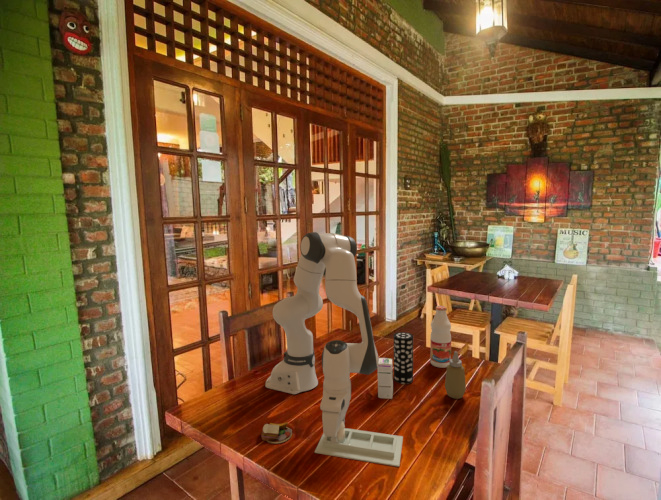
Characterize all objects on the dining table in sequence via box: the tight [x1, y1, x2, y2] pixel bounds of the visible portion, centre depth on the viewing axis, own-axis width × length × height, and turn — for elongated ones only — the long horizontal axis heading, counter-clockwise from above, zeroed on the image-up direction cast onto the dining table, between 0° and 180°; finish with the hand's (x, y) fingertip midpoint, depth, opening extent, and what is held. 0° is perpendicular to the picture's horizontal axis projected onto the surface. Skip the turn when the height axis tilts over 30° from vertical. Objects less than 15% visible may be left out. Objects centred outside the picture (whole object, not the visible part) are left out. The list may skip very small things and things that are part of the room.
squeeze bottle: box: [444, 351, 467, 400], centre depth 144 cm, size 8×8×18 cm
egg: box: [337, 421, 346, 443], centre depth 118 cm, size 4×4×7 cm
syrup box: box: [376, 357, 394, 400], centre depth 146 cm, size 6×6×14 cm
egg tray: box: [314, 427, 404, 468], centre depth 116 cm, size 26×14×2 cm, turn 74°
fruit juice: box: [429, 305, 452, 369], centre depth 173 cm, size 9×9×28 cm
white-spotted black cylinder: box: [393, 331, 414, 385], centre depth 158 cm, size 8×8×20 cm
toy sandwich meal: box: [260, 421, 293, 445], centre depth 122 cm, size 9×10×4 cm
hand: (338, 432), depth 118 cm, fingers open, 8 cm apart
